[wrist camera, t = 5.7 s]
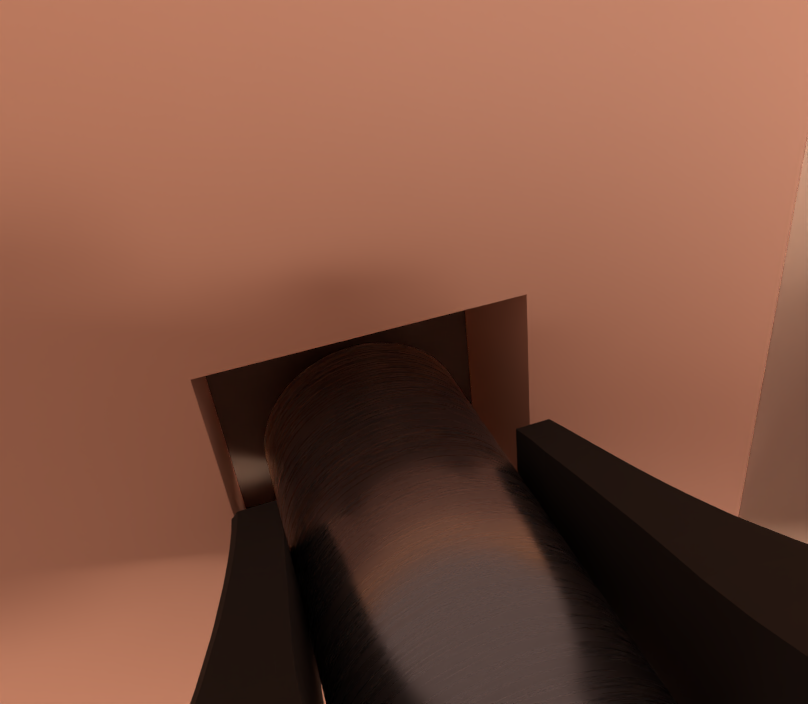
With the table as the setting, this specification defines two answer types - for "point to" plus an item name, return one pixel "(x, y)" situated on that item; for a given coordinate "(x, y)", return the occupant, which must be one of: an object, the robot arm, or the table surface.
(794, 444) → the table surface
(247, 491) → the table surface
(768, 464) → the table surface
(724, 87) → the brown square hole board
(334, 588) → the hitch peg
